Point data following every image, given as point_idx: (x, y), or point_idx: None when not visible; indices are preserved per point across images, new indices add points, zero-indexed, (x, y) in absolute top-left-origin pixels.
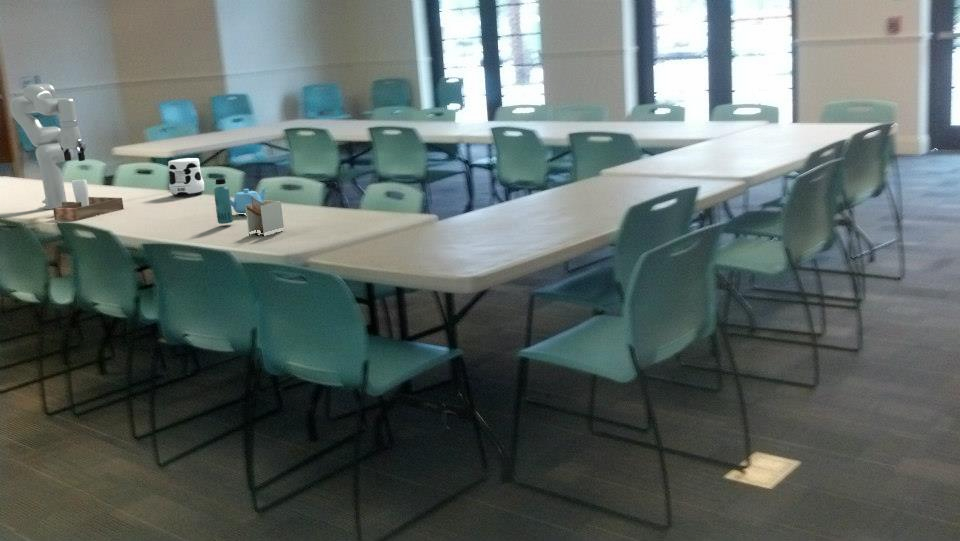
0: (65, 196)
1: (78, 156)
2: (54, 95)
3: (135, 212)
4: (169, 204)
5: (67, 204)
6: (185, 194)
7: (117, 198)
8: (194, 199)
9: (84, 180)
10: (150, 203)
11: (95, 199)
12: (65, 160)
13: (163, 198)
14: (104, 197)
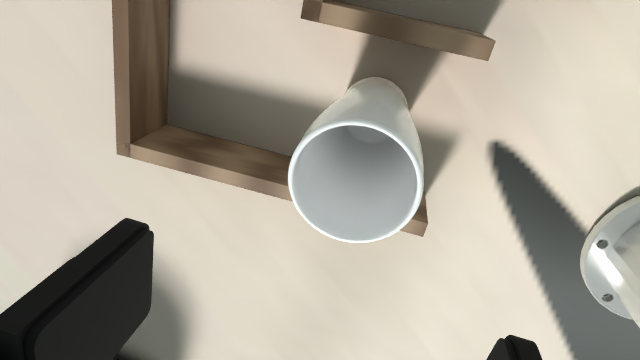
0: (629, 309)
1: (75, 267)
2: None
3: (3, 25)
4: (19, 214)
5: (431, 25)
6: None
7: (126, 134)
8: (11, 299)
9: (288, 175)
10: None
11: None
12: (521, 339)
13: (167, 350)
14: (251, 186)
